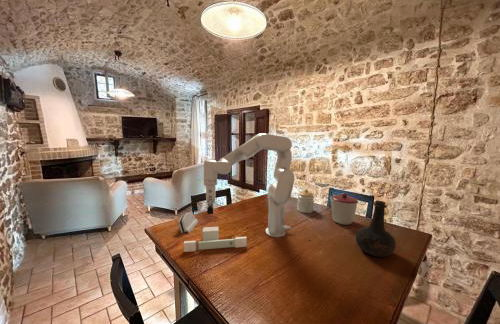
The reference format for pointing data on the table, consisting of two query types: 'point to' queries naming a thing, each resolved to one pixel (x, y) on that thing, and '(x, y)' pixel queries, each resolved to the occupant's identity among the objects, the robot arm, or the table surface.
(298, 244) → the table surface
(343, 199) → the canister
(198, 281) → the table surface
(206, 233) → the block
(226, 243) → the door
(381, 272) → the table surface
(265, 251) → the table surface
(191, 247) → the notched cream block
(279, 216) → the robot arm
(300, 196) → the jar
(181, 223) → the hinge
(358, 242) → the glass bottle
